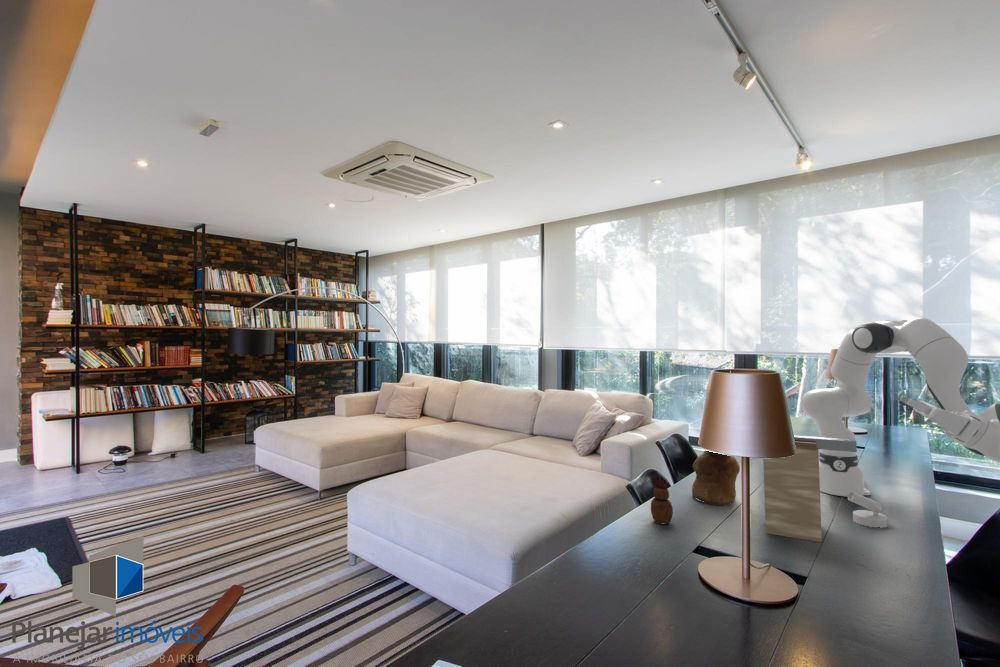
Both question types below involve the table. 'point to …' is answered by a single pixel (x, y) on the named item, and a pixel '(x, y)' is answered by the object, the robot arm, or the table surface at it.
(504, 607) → the table surface
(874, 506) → the wall hook
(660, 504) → the wooden figurine
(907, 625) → the table surface
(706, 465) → the ceramic vessel
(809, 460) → the stand
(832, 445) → the bracket
